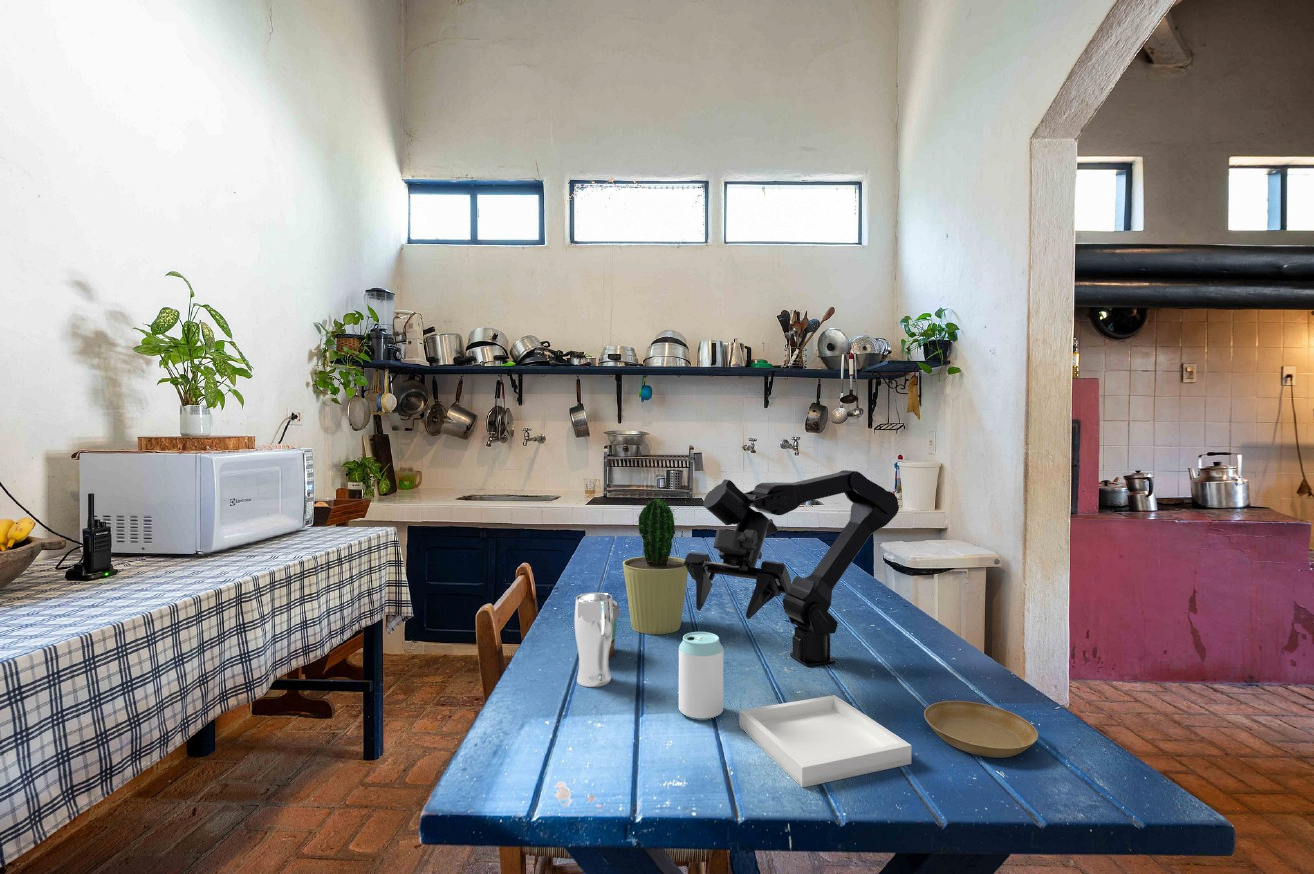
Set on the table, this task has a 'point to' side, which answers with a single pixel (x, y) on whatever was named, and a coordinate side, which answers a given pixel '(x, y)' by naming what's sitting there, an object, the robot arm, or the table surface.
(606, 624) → the beer glass
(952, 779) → the table surface
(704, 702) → the can
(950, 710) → the plant saucer
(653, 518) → the potted cactus
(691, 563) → the robot arm
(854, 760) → the tray
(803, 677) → the table surface
